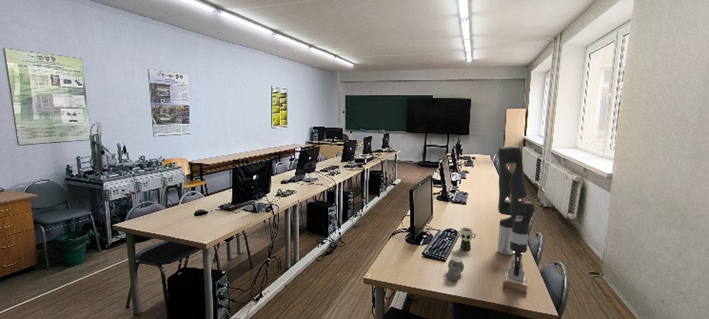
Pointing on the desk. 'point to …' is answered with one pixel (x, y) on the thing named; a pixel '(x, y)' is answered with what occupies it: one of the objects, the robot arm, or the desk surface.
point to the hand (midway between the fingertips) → (516, 271)
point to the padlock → (511, 272)
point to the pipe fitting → (455, 268)
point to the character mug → (466, 238)
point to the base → (515, 284)
